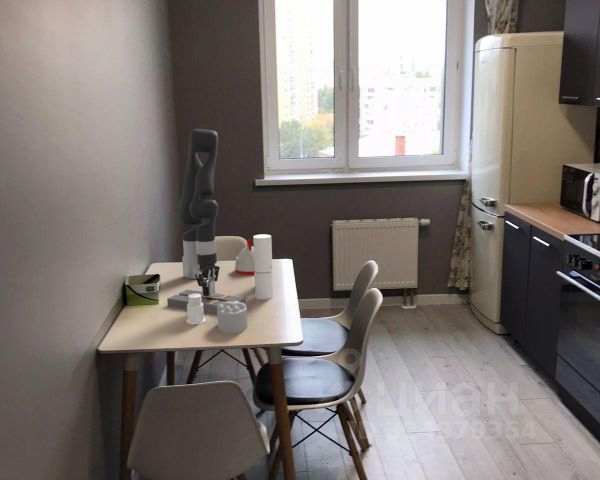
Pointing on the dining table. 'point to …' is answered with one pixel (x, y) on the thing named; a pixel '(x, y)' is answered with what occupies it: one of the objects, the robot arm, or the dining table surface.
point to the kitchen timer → (245, 261)
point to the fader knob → (210, 289)
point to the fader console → (202, 300)
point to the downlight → (195, 309)
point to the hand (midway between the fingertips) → (208, 294)
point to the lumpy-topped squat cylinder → (232, 317)
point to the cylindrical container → (263, 266)
